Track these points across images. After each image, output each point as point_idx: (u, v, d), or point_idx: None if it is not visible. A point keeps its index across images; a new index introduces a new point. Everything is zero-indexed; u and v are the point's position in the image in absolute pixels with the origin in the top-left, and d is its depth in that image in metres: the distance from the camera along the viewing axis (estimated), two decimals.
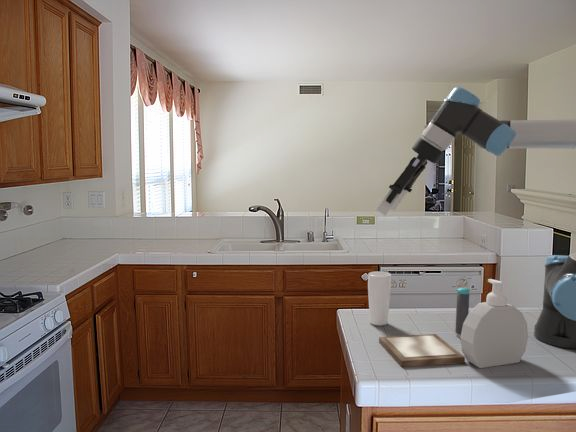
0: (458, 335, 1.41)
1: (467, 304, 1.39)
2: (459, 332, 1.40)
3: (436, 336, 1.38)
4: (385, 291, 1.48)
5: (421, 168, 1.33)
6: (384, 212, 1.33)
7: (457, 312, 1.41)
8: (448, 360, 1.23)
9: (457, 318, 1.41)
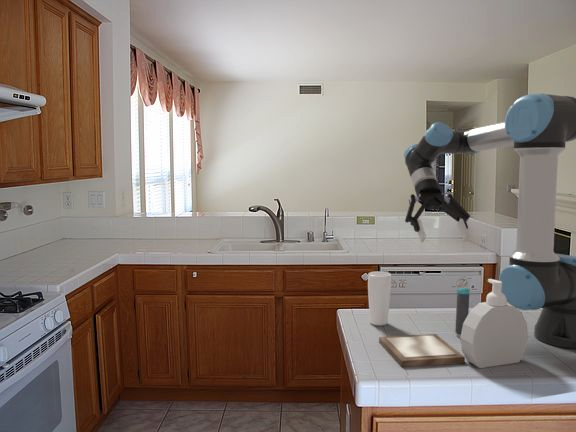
0: (458, 335, 1.41)
1: (467, 304, 1.39)
2: (459, 332, 1.40)
3: (436, 336, 1.38)
4: (385, 291, 1.48)
5: (426, 197, 1.60)
6: (422, 236, 1.51)
7: (457, 312, 1.41)
8: (448, 360, 1.23)
9: (457, 318, 1.41)
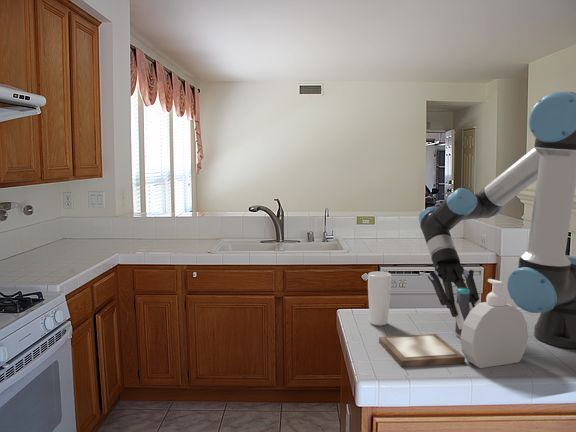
0: (458, 335, 1.41)
1: (467, 304, 1.39)
2: (459, 332, 1.40)
3: (436, 336, 1.38)
4: (385, 291, 1.48)
5: (446, 271, 1.46)
6: (461, 324, 1.37)
7: None
8: (448, 360, 1.23)
9: None
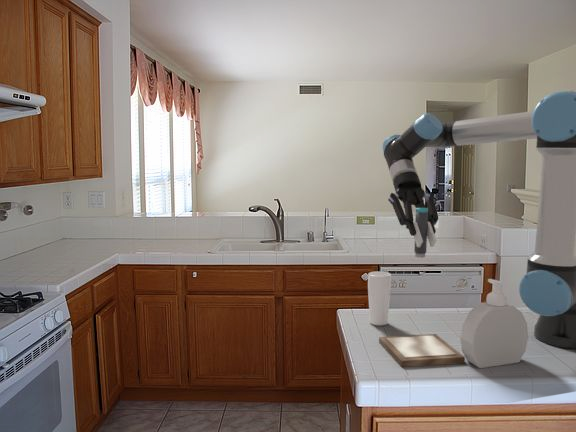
0: (417, 255, 1.41)
1: (425, 222, 1.39)
2: (418, 251, 1.40)
3: (436, 336, 1.38)
4: (385, 291, 1.48)
5: (406, 193, 1.46)
6: (419, 241, 1.36)
7: None
8: (448, 360, 1.23)
9: None
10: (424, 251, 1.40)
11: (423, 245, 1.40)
